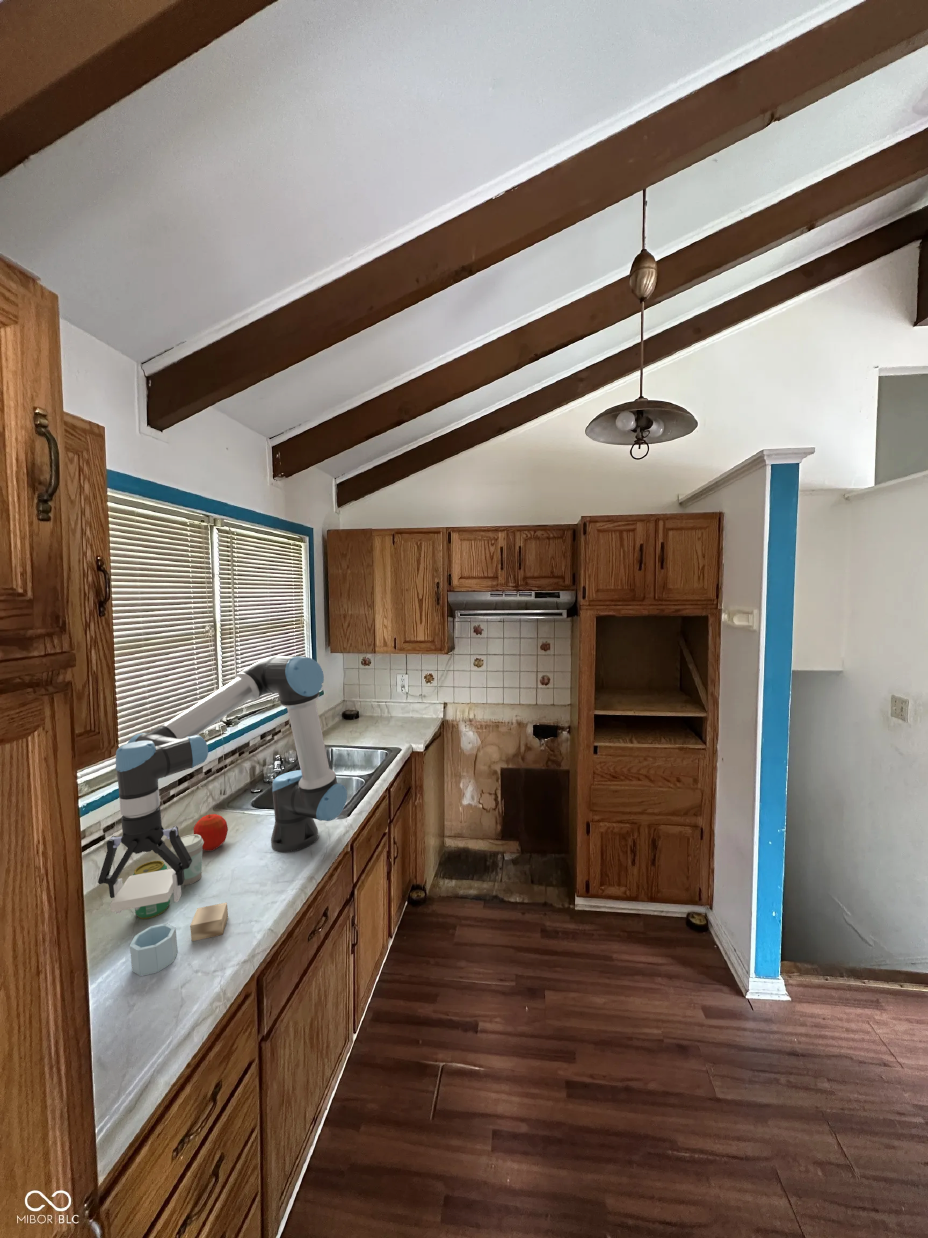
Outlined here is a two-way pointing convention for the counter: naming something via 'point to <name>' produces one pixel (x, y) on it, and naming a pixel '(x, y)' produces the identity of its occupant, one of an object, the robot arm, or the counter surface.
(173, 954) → the bowl
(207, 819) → the apple
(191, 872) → the coffee cup
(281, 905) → the counter surface
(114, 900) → the ceramic tile
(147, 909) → the beverage can
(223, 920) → the cork block
